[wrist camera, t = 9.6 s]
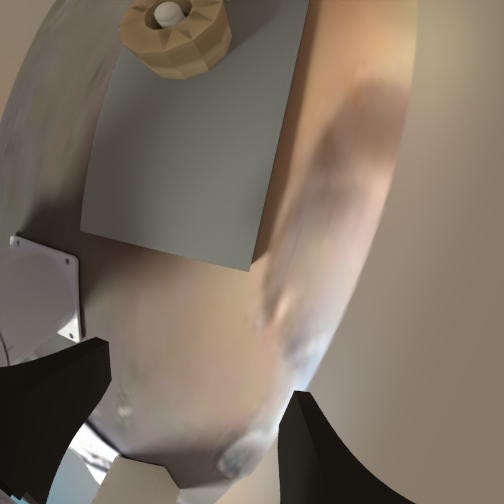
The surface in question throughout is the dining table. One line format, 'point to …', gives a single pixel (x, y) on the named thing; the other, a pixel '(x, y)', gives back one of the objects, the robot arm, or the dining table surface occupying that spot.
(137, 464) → the milk carton
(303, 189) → the dining table surface
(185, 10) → the wooden ring spacer
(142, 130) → the gear board
